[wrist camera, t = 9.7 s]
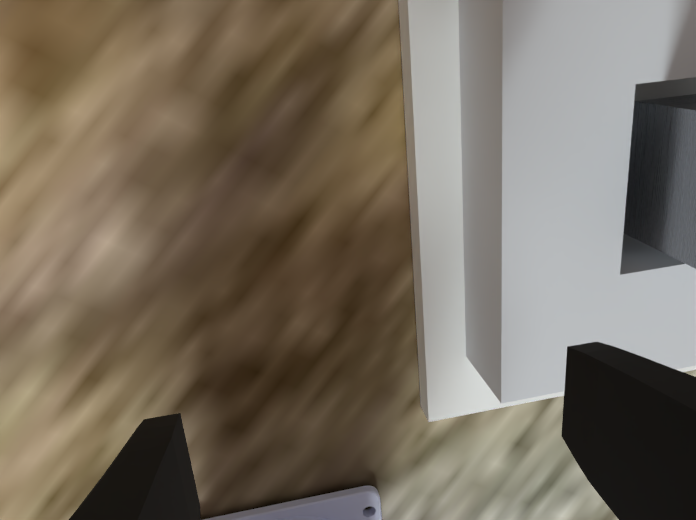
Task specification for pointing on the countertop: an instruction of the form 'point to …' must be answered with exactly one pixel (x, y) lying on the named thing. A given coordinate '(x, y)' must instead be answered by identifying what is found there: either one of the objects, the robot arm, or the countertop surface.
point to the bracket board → (535, 191)
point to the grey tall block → (663, 177)
